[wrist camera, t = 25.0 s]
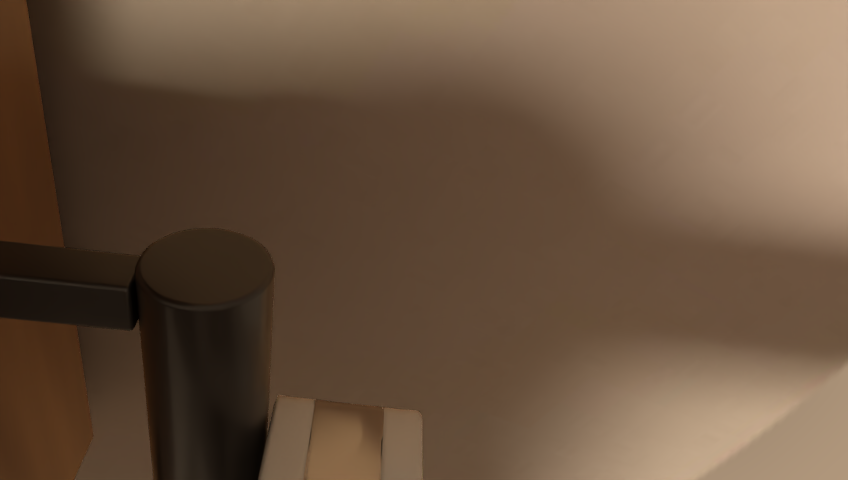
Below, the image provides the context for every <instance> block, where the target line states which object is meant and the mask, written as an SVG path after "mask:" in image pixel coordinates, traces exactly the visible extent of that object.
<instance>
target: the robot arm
mask: <svg viewBox="0 0 848 480" xmlns="http://www.w3.org/2000/svg"><path fill="white" fill-rule="evenodd" d="M258 480H423V457H422V416H421V414H420V411H415V410H406V409H396V408H387V407H384V408H382V407H381V406H371V405H361V404H351V403H341V402H332V401H325V400H318V399H316V400H314V399H306V398H299V397H291V396H283V395H278V396H277V399H276V401H275V404H274V407H273V412H272V417H271V421H270V426H269V431H268V435H267V440H266V445H265V449H264V454H263V459H262V463H261V468H260V473H259V477H258Z"/></svg>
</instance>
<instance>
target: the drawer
mask: <svg viewBox="0 0 848 480" xmlns="http://www.w3.org/2000/svg"><path fill="white" fill-rule="evenodd" d="M274 278H275V267H274V262H273V260H272V258H271V256H270V254H269V252H268V251H267V250H266V248H265V247H264V246H263V245H262V244H260V243H259V242H258V241H256V240H254V239H253V238H251V237H249V236H246V235H244V234H241V233H238V232H235V231H231V230H225V229H217V228H198V229H189V230H184V231H179V232H176V233H173V234H170V235H167V236H165V237H163V238H161V239H159V240H157V241H156V242H154V243H152V244H151V245H150V246H149V247H148V248H146V250H145V251H144V252H143V253H142V254H141V256H137V255H128V254H119V253H110V252H101V251H91V250H82V249H73V248H64V241H63V235H62V228H61V222H60V215H59V209H58V202H57V196H56V190H55V183H54V177H53V170H52V164H51V157H50V151H49V144H48V138H47V131H46V125H45V118H44V112H43V106H42V99H41V93H40V86H39V80H38V73H37V67H36V60H35V54H34V47H33V41H32V35H31V28H30V22H29V15H28V9H27V2H26V0H0V480H74V479H75V476H76V474H77V472H78V470H79V467H80V465H81V463H82V461H83V459H84V456H85V454H86V452H87V450H88V448H89V445H90V443H91V441H92V439H93V436H94V435H93V429H92V422H91V416H90V409H89V403H88V396H87V390H86V383H85V377H84V370H83V364H82V357H81V351H80V345H79V338H78V332H77V326H87V327H97V328H107V329H117V330H127V331H130V330H133V329H134V327H135V325H136V323H137V321H138V319H139V327H140V338H141V349H142V360H143V371H144V382H145V393H146V404H147V415H148V426H149V437H150V448H151V459H152V470H153V480H258V477H259V473H260V468H261V463H262V459H263V454H264V449H265V445H266V440H267V434H268V411H269V389H270V367H271V345H272V322H273V300H274Z"/></svg>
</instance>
